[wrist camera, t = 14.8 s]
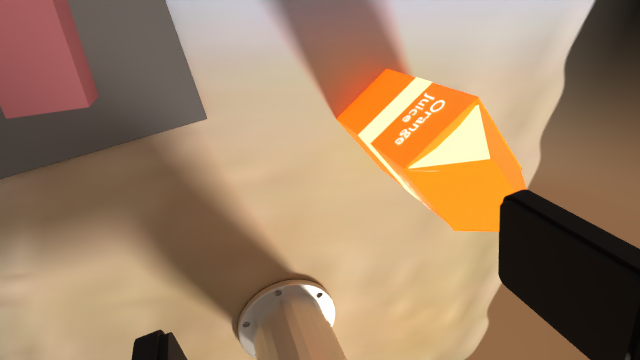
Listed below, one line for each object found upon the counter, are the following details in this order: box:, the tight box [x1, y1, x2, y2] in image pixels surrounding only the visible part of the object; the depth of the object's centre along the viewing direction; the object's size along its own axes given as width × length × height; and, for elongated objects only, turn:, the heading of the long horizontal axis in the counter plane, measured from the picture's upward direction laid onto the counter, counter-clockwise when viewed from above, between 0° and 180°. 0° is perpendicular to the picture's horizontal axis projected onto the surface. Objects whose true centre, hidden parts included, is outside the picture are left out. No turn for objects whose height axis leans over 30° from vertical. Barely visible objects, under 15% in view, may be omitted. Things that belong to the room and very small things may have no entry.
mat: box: [0, 0, 207, 179], centre depth 31 cm, size 18×20×1 cm
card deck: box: [0, 0, 99, 119], centre depth 29 cm, size 6×8×4 cm, turn 4°
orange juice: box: [336, 69, 526, 232], centre depth 35 cm, size 8×9×20 cm
